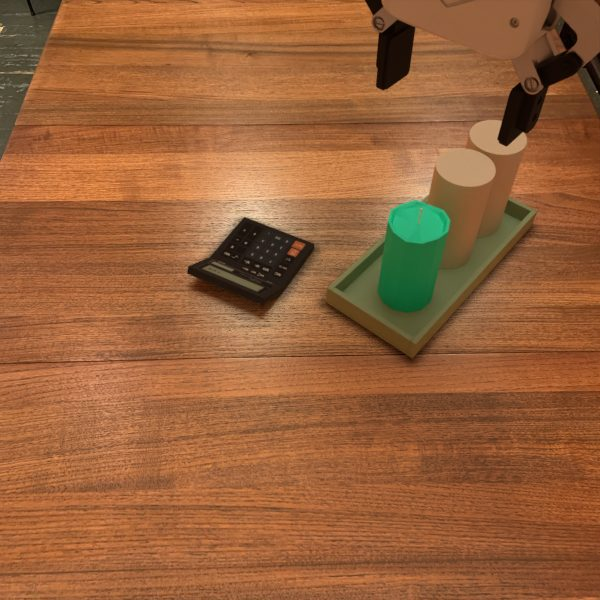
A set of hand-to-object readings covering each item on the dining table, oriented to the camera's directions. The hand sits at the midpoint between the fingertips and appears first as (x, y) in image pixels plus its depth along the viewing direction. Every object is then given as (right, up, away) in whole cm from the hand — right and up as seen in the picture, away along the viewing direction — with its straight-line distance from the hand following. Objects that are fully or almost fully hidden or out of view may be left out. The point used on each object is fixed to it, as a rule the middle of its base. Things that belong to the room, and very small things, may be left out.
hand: (449, 107), depth 45 cm
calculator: (-16, -10, +29) cm, 34 cm away
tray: (+5, -9, +30) cm, 31 cm away
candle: (+1, -12, +26) cm, 29 cm away
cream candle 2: (+11, -4, +33) cm, 35 cm away
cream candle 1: (+6, -7, +30) cm, 32 cm away
